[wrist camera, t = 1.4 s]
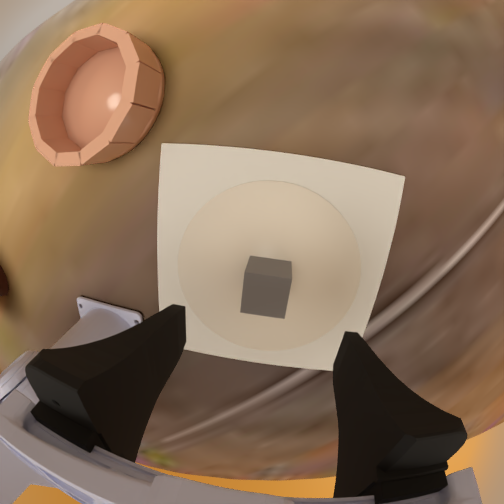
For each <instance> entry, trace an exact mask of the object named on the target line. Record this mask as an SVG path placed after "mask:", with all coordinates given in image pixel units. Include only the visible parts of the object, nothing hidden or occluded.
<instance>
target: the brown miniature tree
mask: <svg viewBox="0 0 504 504" xmlns="http://www.w3.org/2000/svg"><path fill="white" fill-rule="evenodd" d="M8 290H9V287H8V283H7V278H6V275H5V273H4V271H3V270H2V268H1V266H0V296H5V295H8Z"/></svg>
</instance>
